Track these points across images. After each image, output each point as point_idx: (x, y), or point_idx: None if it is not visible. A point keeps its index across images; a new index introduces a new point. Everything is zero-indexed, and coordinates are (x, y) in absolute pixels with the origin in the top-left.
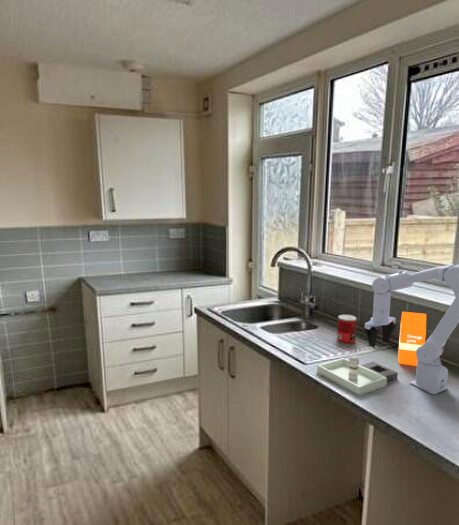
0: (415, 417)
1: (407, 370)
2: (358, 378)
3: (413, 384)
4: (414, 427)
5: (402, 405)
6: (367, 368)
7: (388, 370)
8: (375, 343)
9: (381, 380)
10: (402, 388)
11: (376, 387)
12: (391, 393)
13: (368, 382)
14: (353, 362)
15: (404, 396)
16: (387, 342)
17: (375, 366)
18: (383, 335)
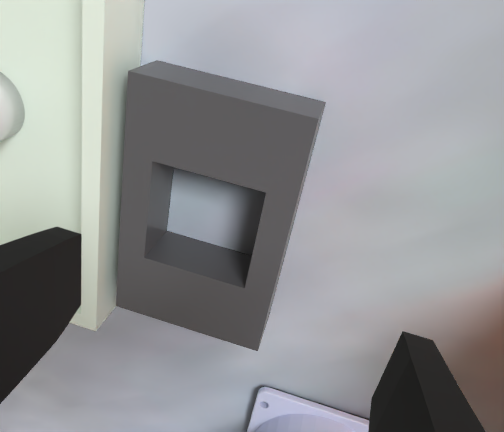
0: None
1: (483, 332)
2: (26, 134)
3: (253, 408)
4: None
5: (28, 397)
6: (131, 154)
7: (236, 294)
8: (38, 356)
9: None
10: (174, 366)
11: None
12: (76, 338)
13: (42, 212)
14: None
15: (105, 389)
16: (374, 407)
17: (237, 181)
18: (420, 429)
